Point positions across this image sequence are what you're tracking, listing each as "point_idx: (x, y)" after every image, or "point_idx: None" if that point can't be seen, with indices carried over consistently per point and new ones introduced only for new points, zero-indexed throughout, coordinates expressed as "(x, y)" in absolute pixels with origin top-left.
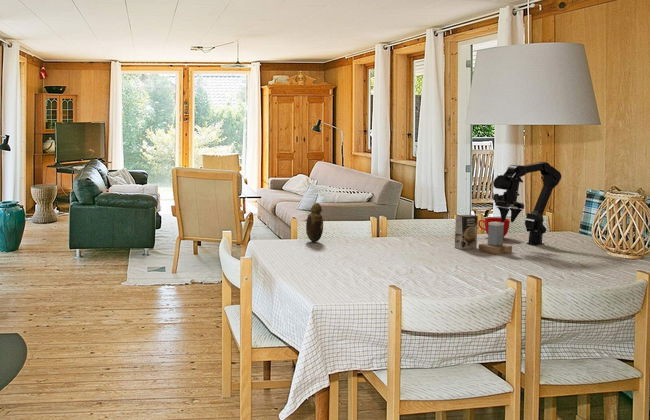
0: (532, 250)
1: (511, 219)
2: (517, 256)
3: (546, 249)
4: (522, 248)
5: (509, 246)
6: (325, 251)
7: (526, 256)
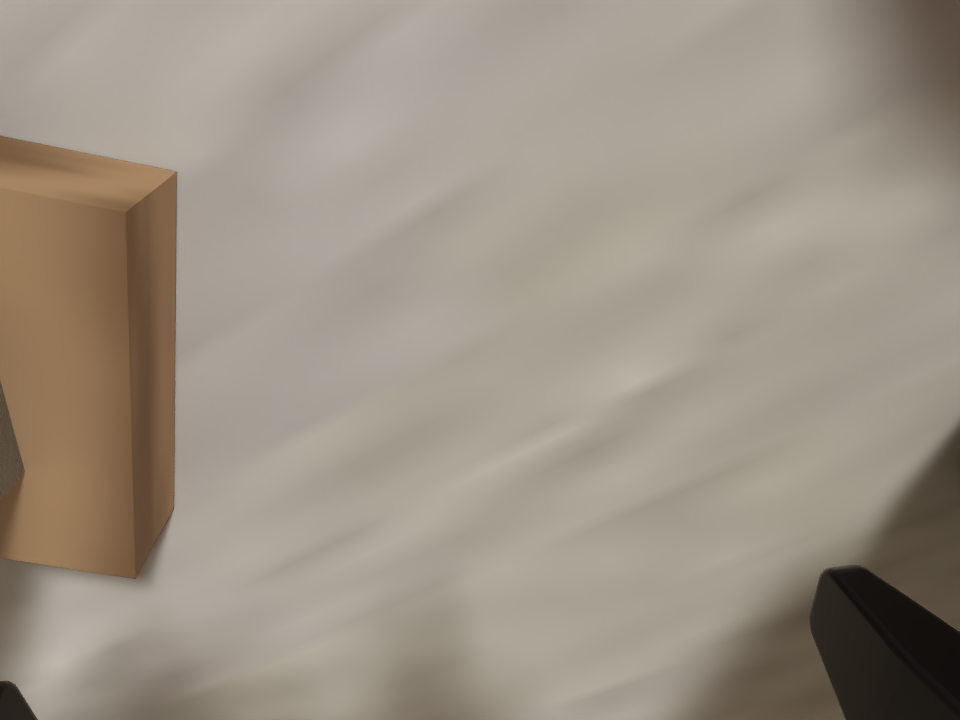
0: (544, 600)
1: (890, 674)
2: (32, 657)
3: (749, 665)
4: (584, 457)
5: (73, 568)
6: None
7: (135, 707)
